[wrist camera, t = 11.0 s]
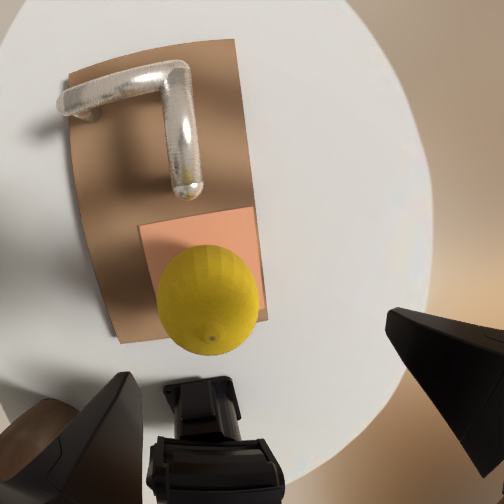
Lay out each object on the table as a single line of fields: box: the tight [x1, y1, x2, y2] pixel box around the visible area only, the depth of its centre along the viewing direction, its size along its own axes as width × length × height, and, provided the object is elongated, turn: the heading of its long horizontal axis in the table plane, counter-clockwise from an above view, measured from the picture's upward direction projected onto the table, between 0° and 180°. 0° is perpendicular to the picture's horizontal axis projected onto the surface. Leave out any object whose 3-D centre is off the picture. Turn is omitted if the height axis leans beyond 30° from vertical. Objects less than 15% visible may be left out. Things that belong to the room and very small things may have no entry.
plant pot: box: [0, 399, 79, 482], centre depth 14 cm, size 15×15×16 cm
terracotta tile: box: [139, 206, 265, 310], centre depth 19 cm, size 8×8×1 cm
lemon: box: [157, 245, 259, 356], centre depth 15 cm, size 6×6×8 cm
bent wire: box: [56, 59, 204, 200], centre depth 13 cm, size 8×8×5 cm
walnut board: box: [68, 39, 268, 344], centre depth 17 cm, size 21×12×1 cm, turn 7°
